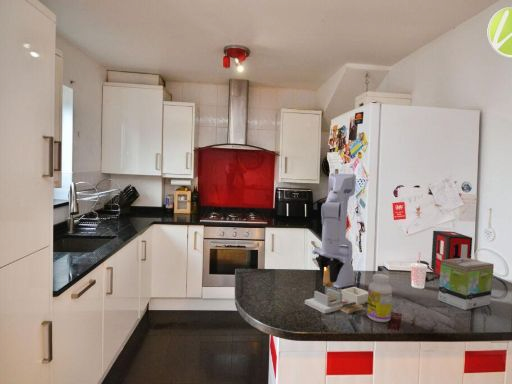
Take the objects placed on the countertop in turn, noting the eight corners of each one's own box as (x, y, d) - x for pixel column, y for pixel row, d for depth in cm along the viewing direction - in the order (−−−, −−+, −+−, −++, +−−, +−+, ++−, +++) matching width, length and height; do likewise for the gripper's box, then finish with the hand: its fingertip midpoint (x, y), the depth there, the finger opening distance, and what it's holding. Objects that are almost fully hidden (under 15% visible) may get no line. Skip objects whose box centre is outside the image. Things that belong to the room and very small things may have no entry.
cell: (320, 284, 105) (321, 264, 105) (328, 283, 107) (329, 264, 106) (327, 287, 102) (328, 267, 102) (335, 286, 104) (336, 266, 103)
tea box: (466, 311, 104) (469, 266, 104) (437, 300, 113) (439, 259, 113) (491, 304, 111) (494, 262, 111) (462, 295, 120) (464, 256, 120)
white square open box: (354, 295, 115) (354, 286, 115) (370, 302, 109) (370, 292, 109) (341, 298, 111) (341, 289, 111) (357, 305, 105) (357, 296, 105)
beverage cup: (409, 287, 127) (411, 252, 126) (408, 283, 133) (410, 249, 132) (427, 290, 125) (429, 254, 124) (425, 285, 130) (427, 251, 130)
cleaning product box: (469, 285, 134) (472, 237, 133) (446, 283, 135) (449, 236, 134) (450, 274, 150) (453, 231, 149) (430, 272, 151) (433, 230, 150)
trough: (354, 305, 105) (354, 300, 105) (362, 309, 102) (362, 303, 102) (339, 309, 101) (339, 304, 101) (347, 313, 98) (347, 307, 98)
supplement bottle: (363, 313, 99) (365, 272, 99) (383, 313, 100) (385, 272, 99) (372, 323, 92) (375, 279, 92) (394, 323, 93) (397, 279, 92)
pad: (327, 297, 107) (327, 294, 107) (336, 301, 104) (336, 298, 104) (319, 299, 105) (319, 296, 105) (328, 303, 102) (328, 300, 102)
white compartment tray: (330, 297, 112) (330, 285, 112) (350, 306, 104) (351, 293, 104) (304, 303, 105) (305, 291, 105) (324, 313, 98) (325, 300, 97)
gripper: (306, 235, 108) (304, 275, 108) (339, 243, 96) (337, 288, 96) (321, 234, 112) (319, 273, 112) (355, 242, 100) (352, 285, 100)
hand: (328, 280), depth 104 cm, fingers closed on cell, 3 cm apart
